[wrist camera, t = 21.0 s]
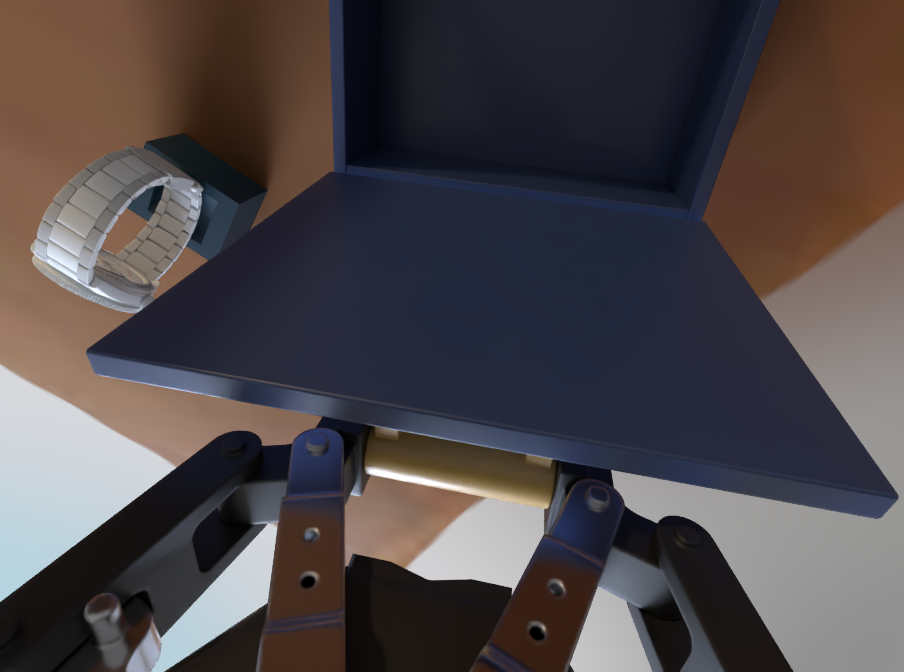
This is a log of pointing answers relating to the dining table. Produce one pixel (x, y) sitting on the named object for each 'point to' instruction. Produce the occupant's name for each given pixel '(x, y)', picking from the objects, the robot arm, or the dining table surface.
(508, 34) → the case
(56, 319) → the dining table surface
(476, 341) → the lid
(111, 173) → the watch
